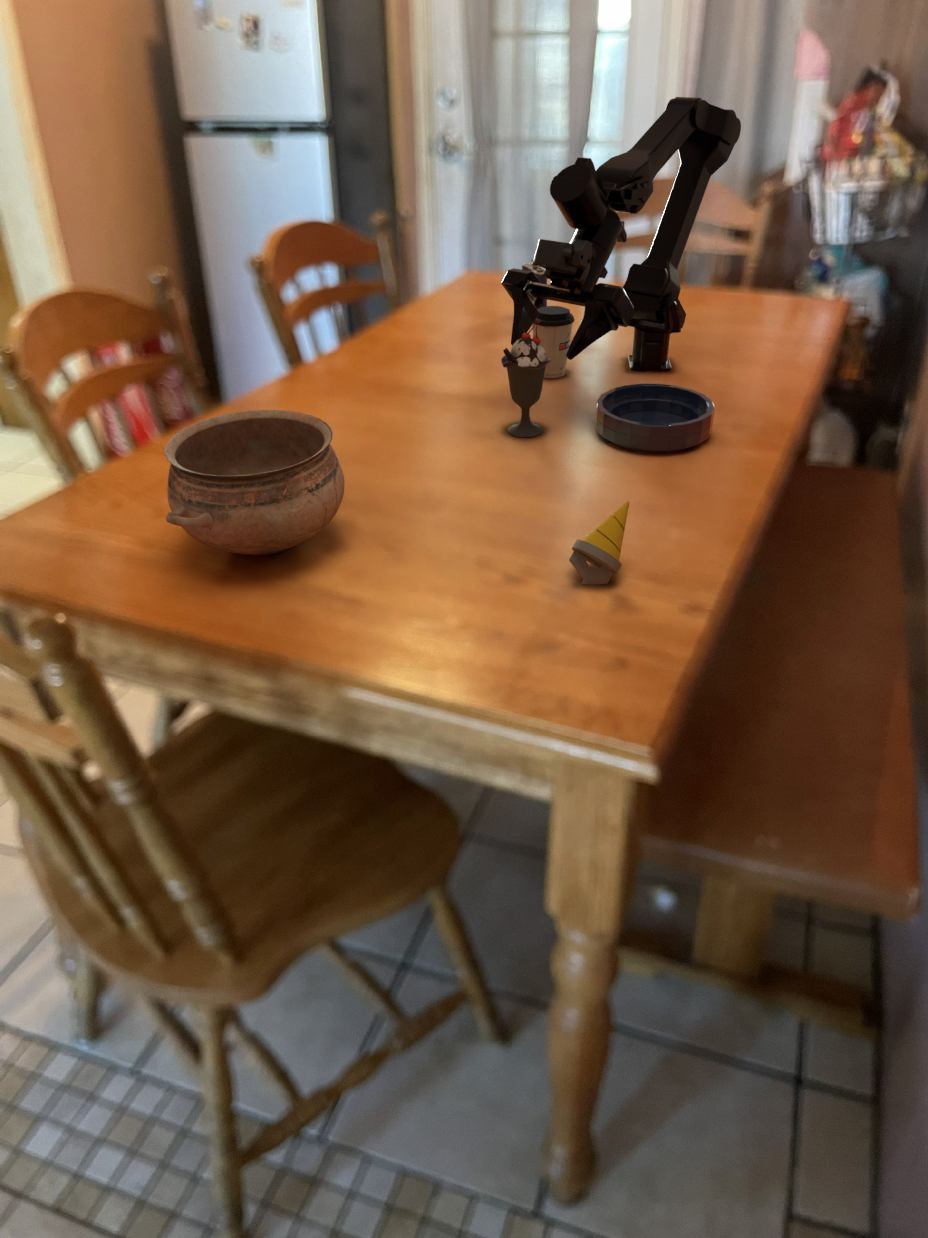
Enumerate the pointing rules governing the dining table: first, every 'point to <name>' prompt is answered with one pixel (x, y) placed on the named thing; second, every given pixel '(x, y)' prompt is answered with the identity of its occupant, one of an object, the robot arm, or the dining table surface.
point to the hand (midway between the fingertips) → (540, 351)
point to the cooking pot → (254, 480)
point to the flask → (537, 275)
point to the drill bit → (601, 549)
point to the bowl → (654, 417)
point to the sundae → (525, 379)
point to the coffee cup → (554, 337)
